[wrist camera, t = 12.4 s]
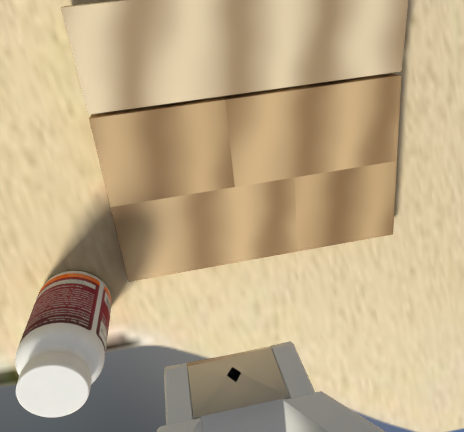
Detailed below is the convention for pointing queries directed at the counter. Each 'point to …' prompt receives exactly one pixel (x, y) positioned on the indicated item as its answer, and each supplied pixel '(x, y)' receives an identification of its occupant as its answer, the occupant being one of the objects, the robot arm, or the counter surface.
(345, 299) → the counter surface
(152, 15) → the plank
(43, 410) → the pill bottle
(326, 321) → the counter surface
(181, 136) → the laid floor
